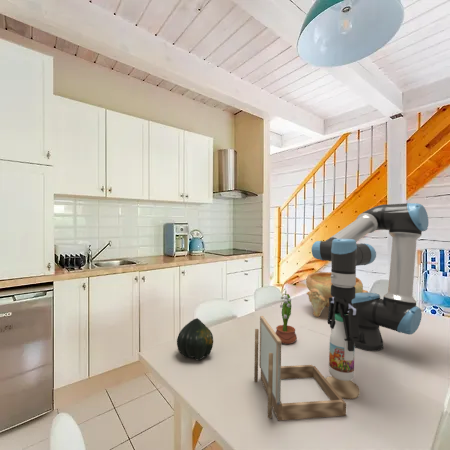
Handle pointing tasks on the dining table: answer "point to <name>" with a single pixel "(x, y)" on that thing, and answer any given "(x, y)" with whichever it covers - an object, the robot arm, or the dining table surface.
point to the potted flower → (285, 331)
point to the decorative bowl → (324, 290)
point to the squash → (195, 340)
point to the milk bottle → (339, 353)
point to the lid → (268, 345)
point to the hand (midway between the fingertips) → (341, 353)
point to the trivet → (344, 388)
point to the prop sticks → (270, 373)
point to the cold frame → (307, 409)
